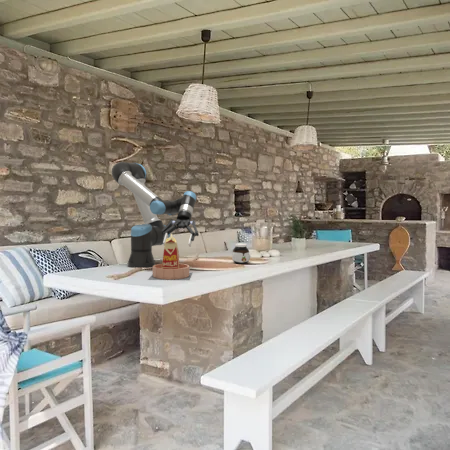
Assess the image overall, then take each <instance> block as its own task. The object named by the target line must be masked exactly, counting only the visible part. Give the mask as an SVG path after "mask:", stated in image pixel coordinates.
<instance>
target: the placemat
mask: <svg viewBox="0 0 450 450" xmlns="http://www.w3.org/2000/svg"><path fill="white" fill-rule="evenodd" d="M192 275H193V272H190V274H189V277H187V278H184V279H175V280H174V281H191V278H192ZM147 281H167V280H166V279H157V278H154V277H153V273H152V275H151V276H150V277H149V278H148V279H147Z"/></svg>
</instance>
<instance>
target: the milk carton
mask: <svg viewBox="0 0 450 450" xmlns="http://www.w3.org/2000/svg"><path fill="white" fill-rule="evenodd" d="M163 246H164V245H163ZM161 264H162V269H180V264H181V263H180V253H179V247H178V241H177V239H176V238H175V237H174V236H173V233H170V237H169V238H167V239H166V241H165V246H164V247H163V254H162V261H161Z"/></svg>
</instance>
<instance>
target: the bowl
mask: <svg viewBox="0 0 450 450" xmlns="http://www.w3.org/2000/svg"><path fill="white" fill-rule="evenodd" d="M190 273H191V270H190V265H189V264H186V263H180V269H162V263H158V264H155V265H154V266H153V267H152V274H153V277H154V278H157V279H166V280H165V281H176V280H175V279H184V278H187V277H189V274H190Z"/></svg>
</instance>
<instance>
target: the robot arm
mask: <svg viewBox="0 0 450 450" xmlns="http://www.w3.org/2000/svg"><path fill="white" fill-rule="evenodd" d="M146 175H147V170H146V168H145V167H144V166H143V165H142V164H140V163H137V162H125V161H120V162H119V161H118V162H116V163H115V164H114V165H113V166H112V168H111V177H112V179H113V180H114V181H115V182H116V183H117V184H118V185H120V186H124V187H125V188H126V189H127V190H128V191H130V192H131V193H132V194H133V197H134V200H135V203H136V206H137V207H138V210H139V212H140V215H141V217H142V220H143V224H136V225H133V226H132V227H131V228H130V255H129V257H128V260H127V266H128V267H129V268H143V269H144V268H153V267H152V266H154V265H156V261H155V258H154V255H153V247H154V246H162V245H163V246H165V241H166V239H167V238H169V237H171V234H172V233H173V232H174V231H175V230H178V229H186V230H187V231H188V233H190V236H189V239H188V243H187V244H188V248H190V247H192V242H194V241H195V237H199V231H198V229H197V226H196V225H197V224H196V220H195V219H192V215H193V214H194V213H193V212H194V209H195V205H196V202H197V195H196V193H195V192H193V191H190V190H187V191H184V193H183V195H182V196H181V197H179V198H177V199H174V200H163V199H162V197H159V196H158V195H157V194H156V193H154V192H153V191H152V190H151V189H149V188H148V187H147V186H146V178H147V176H146ZM158 215H161V216H162V215H167V216H174V215H177V216H176V220H174V219H170V220H169V222H168V223H167V225H166V224H164V223H163V221H162V219H160V218H159V217H158ZM190 225H191V226H192V227H193V229H192V227H190Z"/></svg>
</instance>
